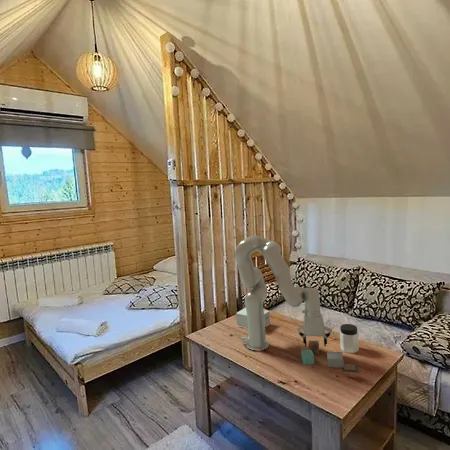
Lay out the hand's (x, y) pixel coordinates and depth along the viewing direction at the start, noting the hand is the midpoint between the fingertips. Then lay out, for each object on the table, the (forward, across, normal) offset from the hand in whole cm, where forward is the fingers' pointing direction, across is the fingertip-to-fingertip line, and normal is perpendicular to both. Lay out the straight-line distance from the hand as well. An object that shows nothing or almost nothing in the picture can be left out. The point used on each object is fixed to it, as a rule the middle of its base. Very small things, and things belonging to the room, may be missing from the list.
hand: (315, 344), depth 168 cm
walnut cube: (+4, -1, 0) cm, 4 cm away
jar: (+5, +17, +5) cm, 18 cm away
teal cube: (+4, -4, -10) cm, 11 cm away
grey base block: (+4, +9, -10) cm, 14 cm away
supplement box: (+3, -38, +29) cm, 48 cm away
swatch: (+4, +15, -13) cm, 20 cm away
